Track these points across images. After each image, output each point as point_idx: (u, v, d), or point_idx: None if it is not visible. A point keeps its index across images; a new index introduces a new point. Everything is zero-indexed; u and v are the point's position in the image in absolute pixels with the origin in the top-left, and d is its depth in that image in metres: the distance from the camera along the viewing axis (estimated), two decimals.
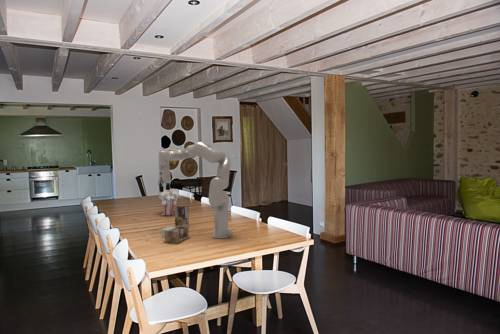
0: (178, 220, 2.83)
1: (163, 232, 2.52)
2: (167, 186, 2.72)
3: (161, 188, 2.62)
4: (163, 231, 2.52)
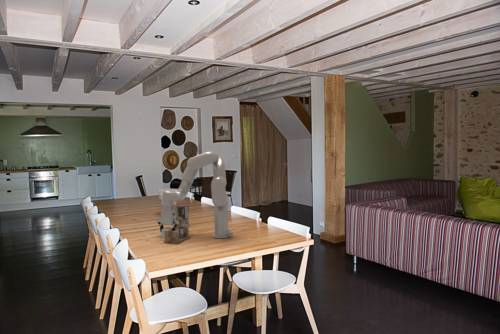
0: (178, 220, 2.83)
1: (163, 232, 2.52)
2: (162, 227, 2.58)
3: None
4: (163, 231, 2.52)
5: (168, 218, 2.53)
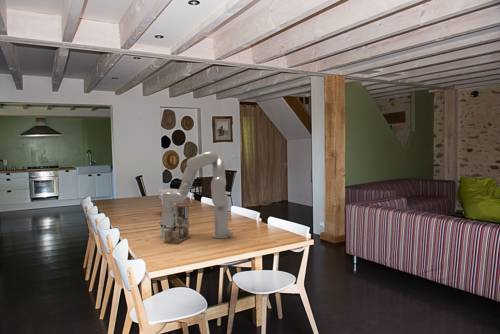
0: (178, 220, 2.83)
1: (163, 232, 2.52)
2: None
3: None
4: (163, 231, 2.52)
5: (169, 219, 2.53)
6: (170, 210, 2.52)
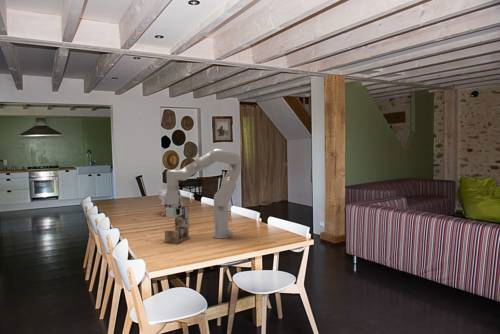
0: (178, 220, 2.83)
1: (167, 211, 2.45)
2: None
3: (179, 210, 2.48)
4: (167, 210, 2.45)
5: (173, 198, 2.45)
6: (174, 188, 2.44)
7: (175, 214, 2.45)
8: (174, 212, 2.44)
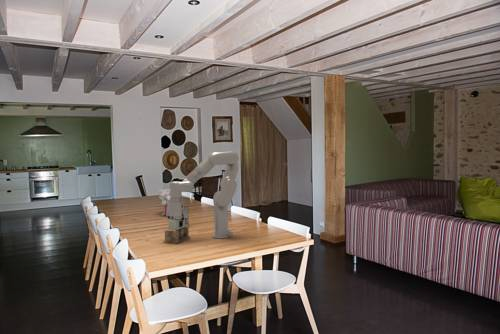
0: None
1: (170, 223, 2.41)
2: None
3: (182, 222, 2.44)
4: (170, 222, 2.40)
5: (177, 210, 2.41)
6: (178, 200, 2.41)
7: (178, 226, 2.41)
8: (177, 224, 2.40)
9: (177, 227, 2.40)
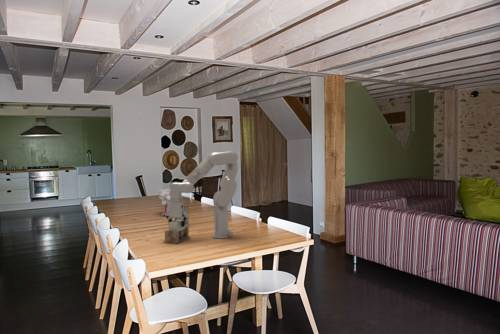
0: None
1: (170, 225, 2.41)
2: (170, 221, 2.46)
3: (184, 222, 2.43)
4: (170, 224, 2.41)
5: (177, 211, 2.41)
6: (178, 201, 2.41)
7: (178, 228, 2.42)
8: (178, 226, 2.41)
9: (178, 229, 2.41)
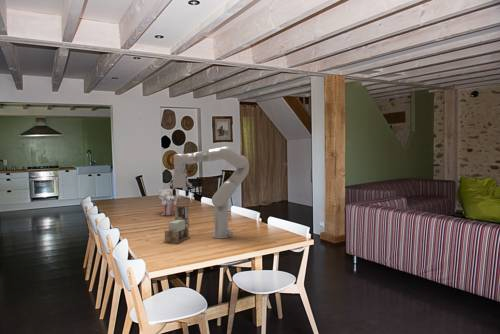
0: None
1: (170, 225, 2.41)
2: (174, 191, 2.57)
3: (188, 192, 2.54)
4: (170, 224, 2.41)
5: (181, 181, 2.52)
6: (182, 172, 2.51)
7: (178, 228, 2.42)
8: (178, 226, 2.41)
9: (178, 229, 2.41)
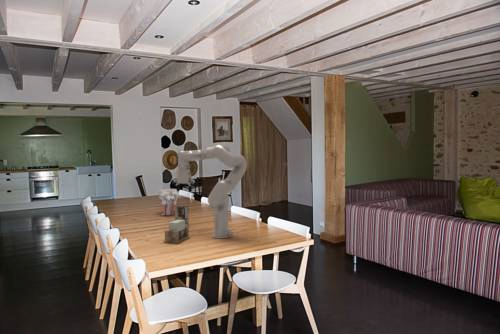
0: None
1: (170, 225, 2.41)
2: (178, 187, 2.67)
3: (191, 188, 2.64)
4: (170, 224, 2.41)
5: (184, 177, 2.62)
6: (185, 168, 2.61)
7: (178, 228, 2.42)
8: (178, 226, 2.41)
9: (178, 229, 2.41)
